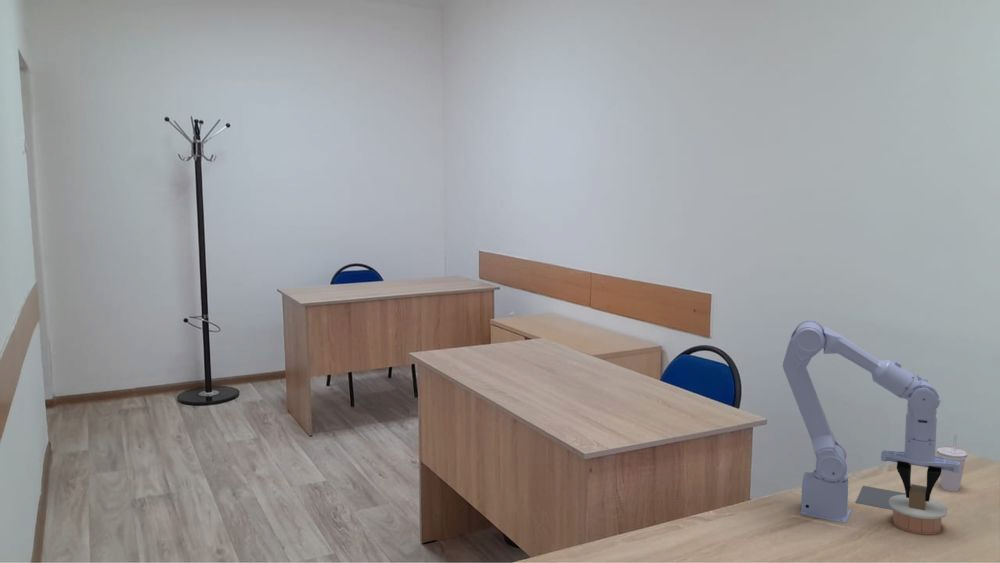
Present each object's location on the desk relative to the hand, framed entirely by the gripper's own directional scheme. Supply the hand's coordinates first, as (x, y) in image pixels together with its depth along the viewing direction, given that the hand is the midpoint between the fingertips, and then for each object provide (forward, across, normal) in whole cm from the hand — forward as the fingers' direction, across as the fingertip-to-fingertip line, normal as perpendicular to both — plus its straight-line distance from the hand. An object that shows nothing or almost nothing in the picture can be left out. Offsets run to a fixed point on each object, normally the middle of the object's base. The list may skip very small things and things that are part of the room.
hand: (917, 498), depth 157 cm
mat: (+6, +7, -12) cm, 15 cm away
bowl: (+6, 0, 0) cm, 6 cm away
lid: (+2, 0, 0) cm, 2 cm away
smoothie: (+7, -5, -27) cm, 28 cm away
